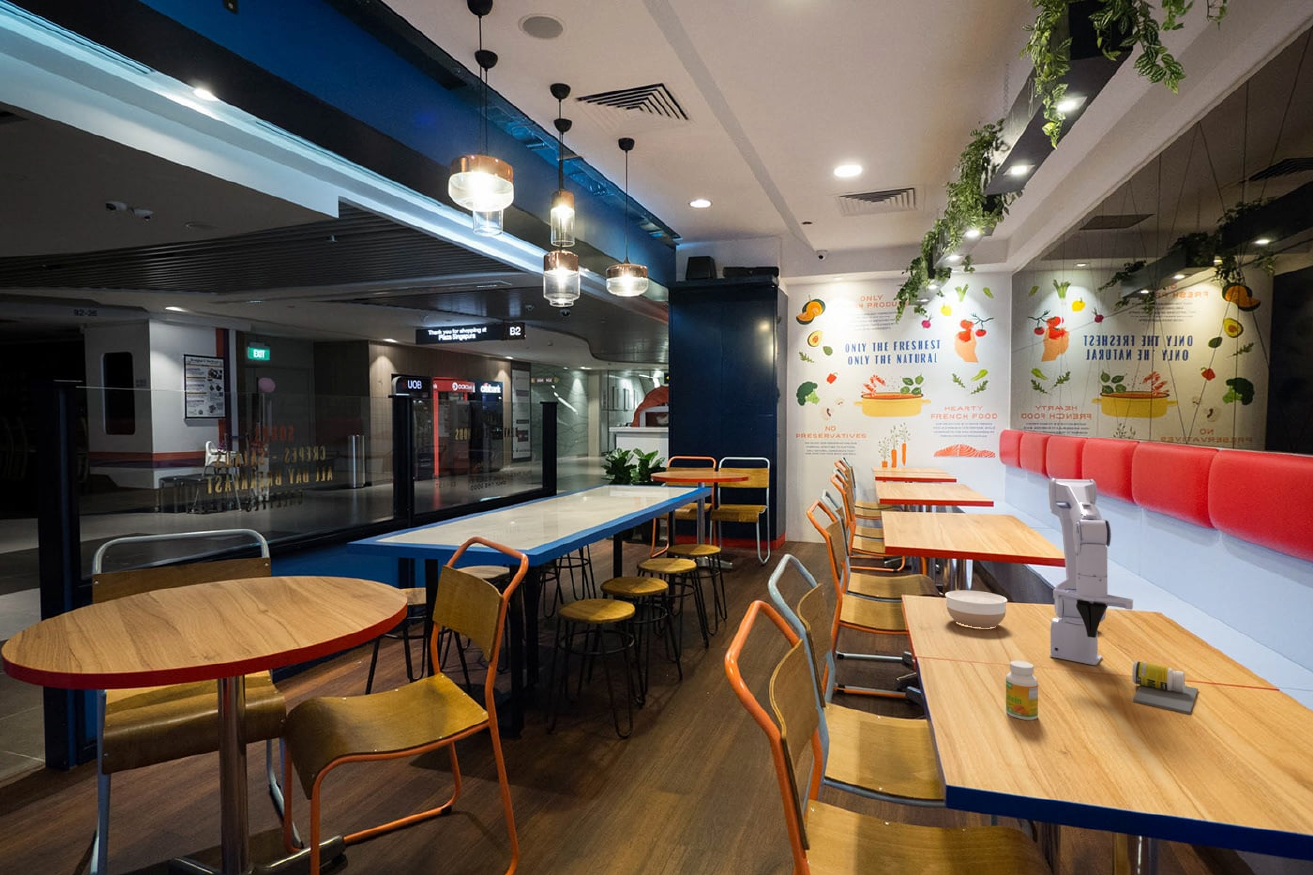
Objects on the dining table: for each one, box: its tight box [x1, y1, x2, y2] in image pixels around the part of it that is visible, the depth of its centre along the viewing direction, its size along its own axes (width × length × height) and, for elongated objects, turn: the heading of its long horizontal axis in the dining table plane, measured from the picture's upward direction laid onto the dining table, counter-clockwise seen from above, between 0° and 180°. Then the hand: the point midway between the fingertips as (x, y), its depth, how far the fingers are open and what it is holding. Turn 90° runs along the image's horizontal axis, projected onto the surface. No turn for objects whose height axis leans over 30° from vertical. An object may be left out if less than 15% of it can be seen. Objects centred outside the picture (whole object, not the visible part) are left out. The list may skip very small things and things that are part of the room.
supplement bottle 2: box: [1131, 660, 1186, 692], centre depth 138 cm, size 5×5×8 cm
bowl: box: [944, 589, 1008, 628], centre depth 188 cm, size 16×16×8 cm
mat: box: [1132, 685, 1199, 715], centre depth 135 cm, size 9×16×1 cm, turn 137°
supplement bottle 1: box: [1005, 660, 1039, 721], centre depth 126 cm, size 5×5×10 cm
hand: (1092, 636), depth 145 cm, fingers closed
